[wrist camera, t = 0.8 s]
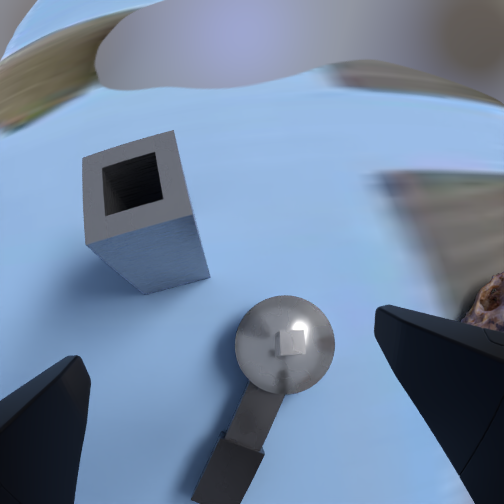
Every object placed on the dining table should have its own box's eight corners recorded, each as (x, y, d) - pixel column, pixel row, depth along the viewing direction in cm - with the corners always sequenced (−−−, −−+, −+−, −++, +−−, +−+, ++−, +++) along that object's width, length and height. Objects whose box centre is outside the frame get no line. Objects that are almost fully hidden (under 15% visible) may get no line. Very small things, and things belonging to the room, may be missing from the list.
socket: (210, 277, 23) (192, 214, 13) (144, 294, 22) (85, 244, 13) (194, 216, 24) (173, 130, 15) (133, 233, 24) (82, 158, 14)
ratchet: (256, 510, 17) (260, 538, 13) (172, 480, 17) (158, 503, 13) (338, 320, 22) (360, 309, 18) (256, 287, 23) (260, 270, 18)
